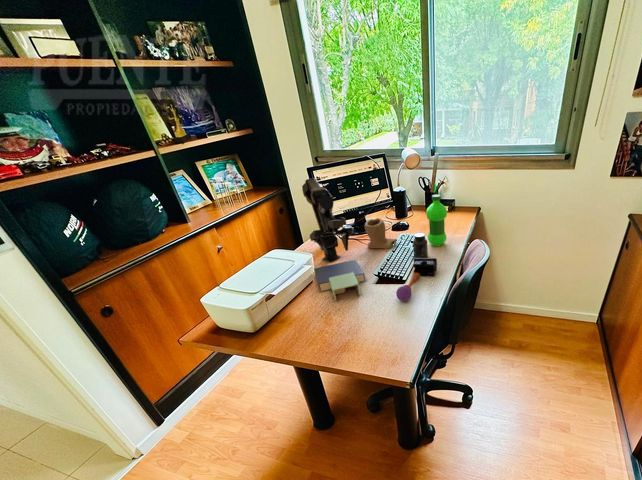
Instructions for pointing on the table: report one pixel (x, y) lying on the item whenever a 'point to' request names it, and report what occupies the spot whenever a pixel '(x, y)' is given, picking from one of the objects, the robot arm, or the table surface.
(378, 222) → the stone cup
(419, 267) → the end cap
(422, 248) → the supplement bottle
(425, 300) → the table surface
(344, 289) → the cream block
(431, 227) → the plastic bottle
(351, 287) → the walnut block
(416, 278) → the kendama
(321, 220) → the robot arm
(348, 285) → the green arch-shaped block
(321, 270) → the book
